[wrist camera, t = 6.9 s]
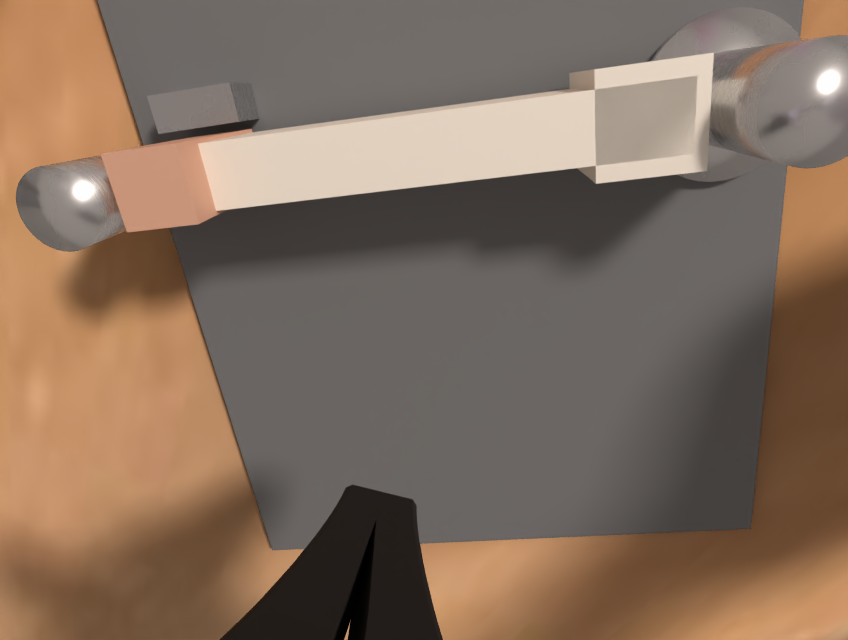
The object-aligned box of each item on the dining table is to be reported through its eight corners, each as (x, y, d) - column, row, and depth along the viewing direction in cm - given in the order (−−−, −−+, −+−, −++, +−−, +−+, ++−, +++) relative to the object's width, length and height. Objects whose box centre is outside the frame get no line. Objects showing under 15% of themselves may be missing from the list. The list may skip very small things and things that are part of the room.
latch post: (256, 82, 17) (161, 81, 12) (282, 192, 18) (206, 234, 13) (122, 104, 17) (-23, 112, 12) (156, 209, 19) (36, 255, 13)
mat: (810, -155, 14) (820, -162, 13) (746, 521, 21) (750, 528, 21) (100, -16, 16) (91, -19, 16) (275, 543, 24) (272, 550, 24)
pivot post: (804, -3, 15) (975, -49, 10) (787, 167, 16) (925, 203, 11) (631, 25, 15) (708, -5, 10) (632, 186, 17) (698, 229, 12)
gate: (661, 60, 15) (734, 49, 11) (659, 153, 16) (725, 177, 11) (191, 125, 16) (95, 139, 12) (213, 206, 17) (131, 244, 13)
